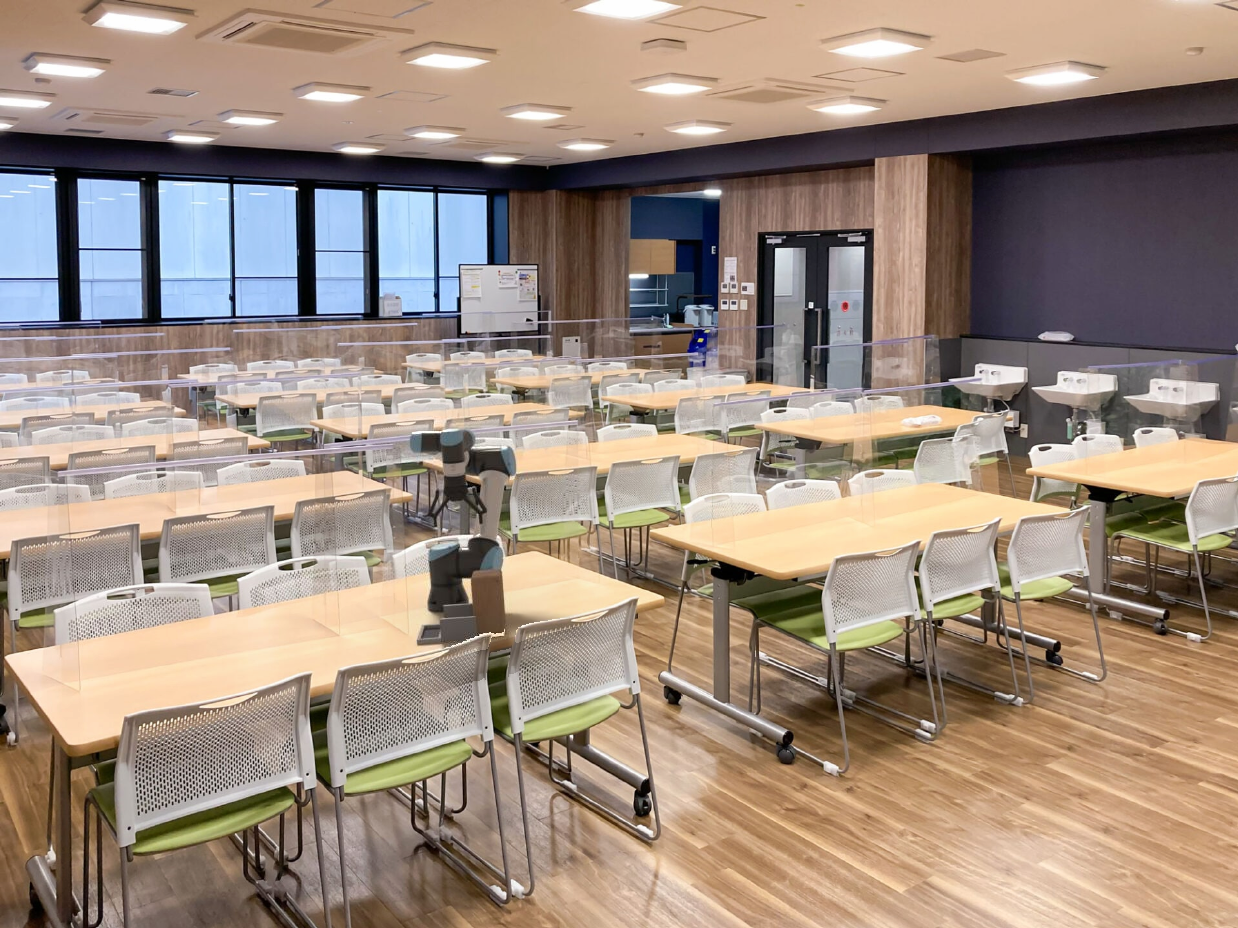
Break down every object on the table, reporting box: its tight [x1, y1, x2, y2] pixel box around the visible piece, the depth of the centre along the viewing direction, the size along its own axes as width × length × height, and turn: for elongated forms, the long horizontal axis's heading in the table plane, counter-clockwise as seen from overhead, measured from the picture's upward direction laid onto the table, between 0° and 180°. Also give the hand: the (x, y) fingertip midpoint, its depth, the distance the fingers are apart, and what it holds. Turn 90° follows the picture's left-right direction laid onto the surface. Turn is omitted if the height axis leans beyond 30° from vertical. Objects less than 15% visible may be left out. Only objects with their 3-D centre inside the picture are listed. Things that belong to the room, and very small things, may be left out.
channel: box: [438, 602, 478, 643], centre depth 396 cm, size 16×12×8 cm
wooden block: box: [470, 569, 507, 635], centre depth 397 cm, size 10×10×20 cm
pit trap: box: [416, 623, 442, 645], centre depth 396 cm, size 16×8×2 cm, turn 4°
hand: (459, 534), depth 403 cm, fingers open, 13 cm apart
